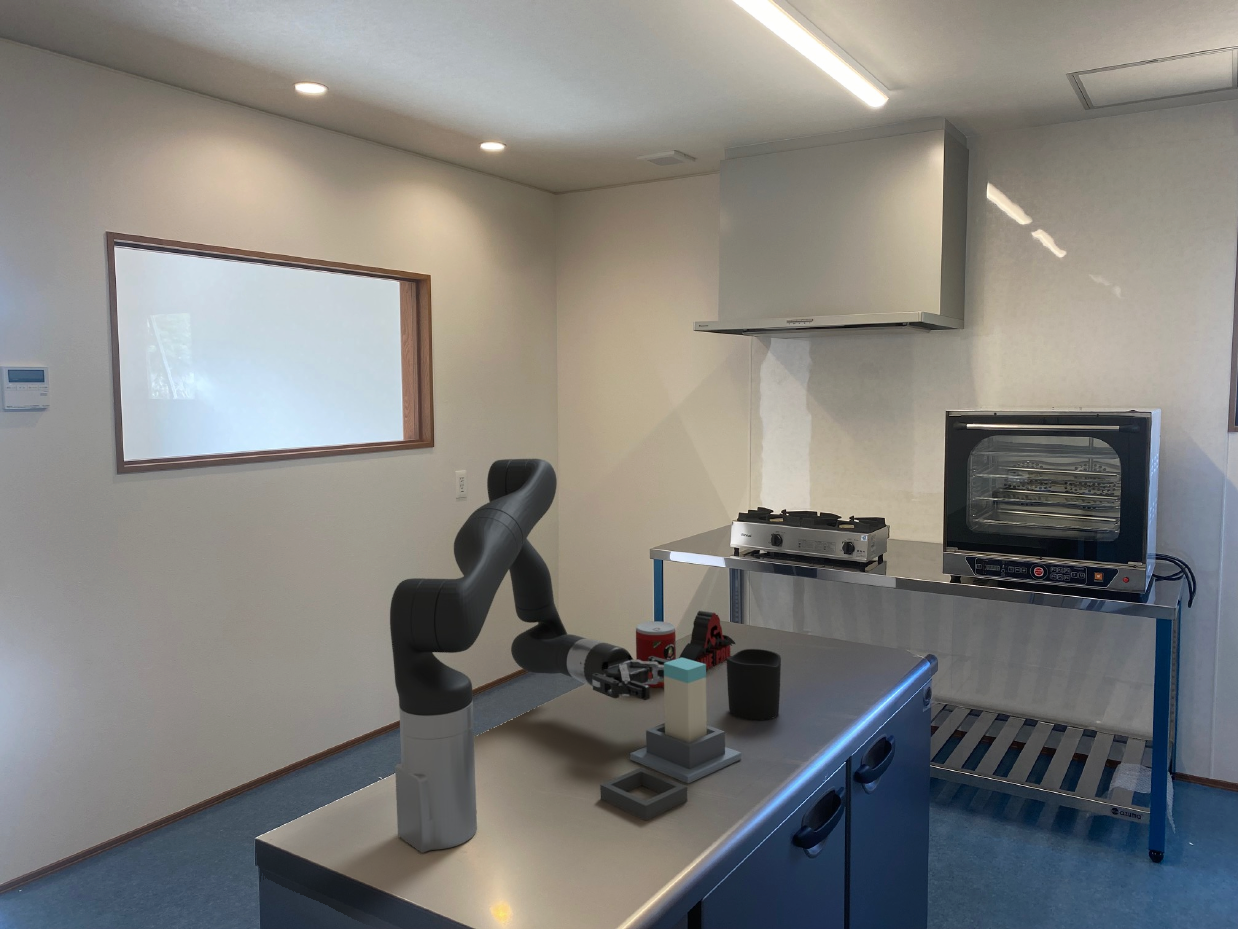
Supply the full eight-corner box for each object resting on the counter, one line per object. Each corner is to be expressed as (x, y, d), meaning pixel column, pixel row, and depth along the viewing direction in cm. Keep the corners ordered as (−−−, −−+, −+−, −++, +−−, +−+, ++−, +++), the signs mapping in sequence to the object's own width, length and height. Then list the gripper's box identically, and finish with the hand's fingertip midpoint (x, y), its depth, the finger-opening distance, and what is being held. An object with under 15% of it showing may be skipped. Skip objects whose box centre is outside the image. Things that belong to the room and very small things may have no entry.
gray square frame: (646, 820, 117) (645, 805, 116) (600, 798, 123) (600, 784, 123) (687, 800, 122) (686, 786, 122) (641, 780, 129) (641, 767, 128)
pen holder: (788, 720, 151) (788, 662, 150) (735, 724, 150) (735, 666, 149) (770, 701, 160) (770, 647, 160) (720, 705, 159) (719, 650, 158)
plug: (689, 761, 132) (687, 670, 131) (665, 752, 136) (663, 663, 135) (706, 753, 135) (705, 664, 134) (683, 744, 139) (681, 657, 138)
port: (688, 783, 127) (687, 753, 127) (630, 759, 136) (630, 731, 136) (741, 759, 135) (740, 730, 135) (683, 737, 144) (683, 710, 144)
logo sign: (691, 678, 174) (690, 622, 173) (676, 675, 176) (675, 620, 176) (735, 655, 189) (735, 604, 188) (721, 652, 191) (721, 602, 190)
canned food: (656, 691, 167) (655, 634, 166) (628, 681, 173) (627, 626, 172) (684, 681, 172) (684, 626, 171) (656, 672, 178) (655, 619, 177)
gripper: (566, 651, 144) (634, 674, 132) (629, 634, 154) (698, 653, 142) (567, 696, 145) (635, 722, 133) (630, 676, 155) (699, 699, 143)
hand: (668, 686), depth 138 cm, fingers open, 8 cm apart
